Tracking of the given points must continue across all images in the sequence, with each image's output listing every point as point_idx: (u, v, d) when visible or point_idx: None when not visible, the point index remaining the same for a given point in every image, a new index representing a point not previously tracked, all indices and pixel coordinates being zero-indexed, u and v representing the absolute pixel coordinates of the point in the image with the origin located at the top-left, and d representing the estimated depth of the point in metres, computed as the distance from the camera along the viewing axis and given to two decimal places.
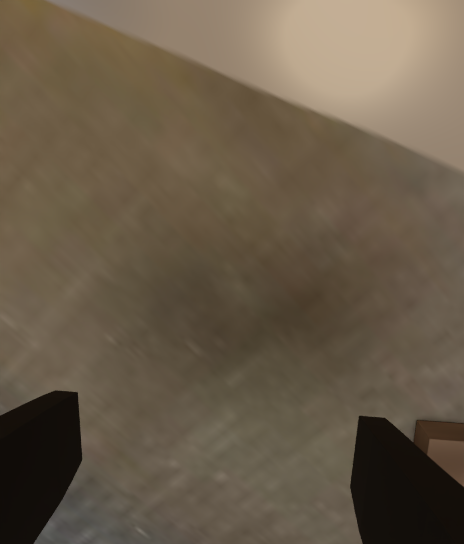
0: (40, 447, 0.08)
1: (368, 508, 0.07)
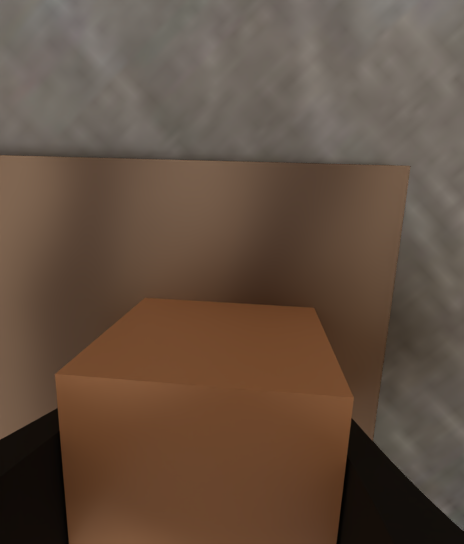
0: None
1: None
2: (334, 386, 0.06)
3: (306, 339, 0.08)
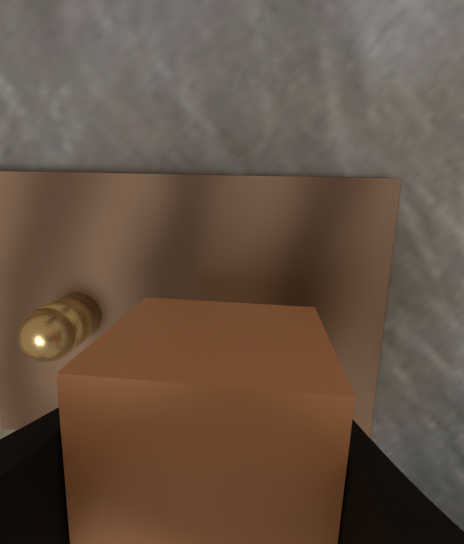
0: None
1: None
2: (335, 385, 0.06)
3: (307, 338, 0.08)
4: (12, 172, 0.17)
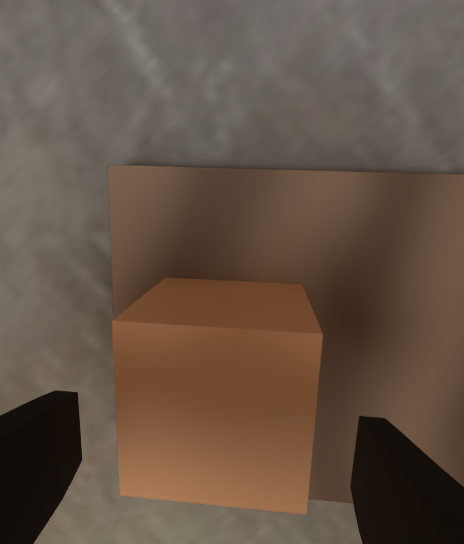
0: (40, 447, 0.08)
1: (368, 508, 0.07)
2: (310, 328, 0.09)
3: (293, 303, 0.11)
4: (164, 167, 0.13)
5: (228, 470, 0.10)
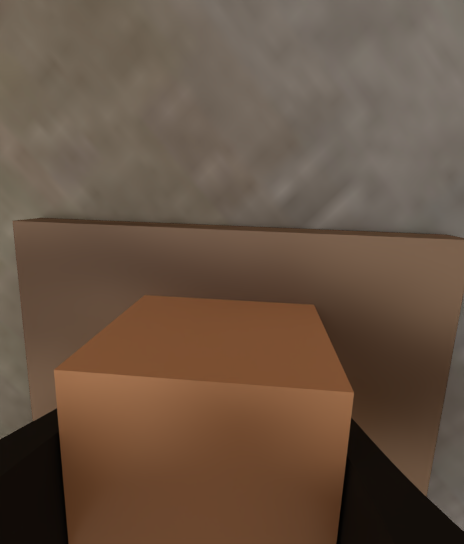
0: None
1: None
2: None
3: None
4: (457, 312, 0.11)
5: (123, 518, 0.07)
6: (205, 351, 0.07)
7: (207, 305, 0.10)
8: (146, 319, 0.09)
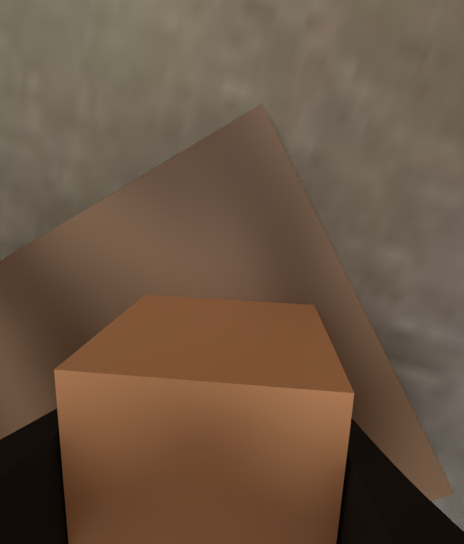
0: None
1: None
2: None
3: None
4: None
5: (123, 518, 0.07)
6: (205, 351, 0.07)
7: (207, 305, 0.10)
8: (146, 319, 0.09)
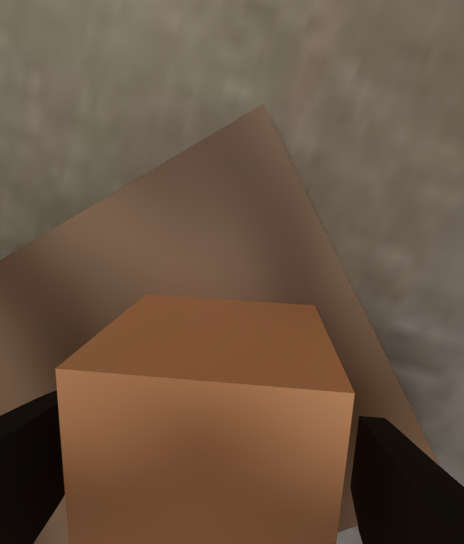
0: (40, 447, 0.08)
1: (368, 508, 0.07)
2: None
3: None
4: None
5: (123, 517, 0.07)
6: (206, 351, 0.07)
7: (208, 305, 0.10)
8: (147, 318, 0.09)
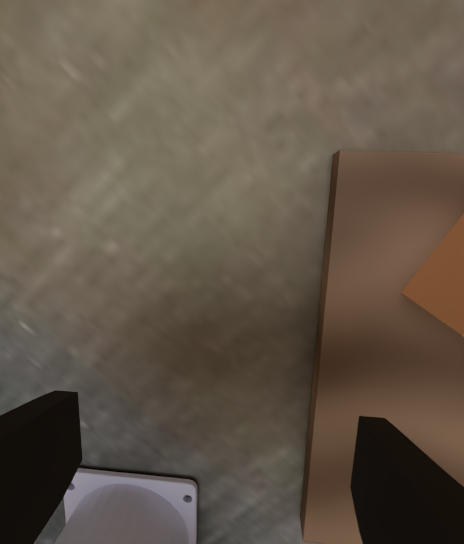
0: (40, 447, 0.08)
1: (368, 508, 0.07)
2: None
3: None
4: None
5: None
6: None
7: (441, 254, 0.14)
8: (435, 290, 0.13)
